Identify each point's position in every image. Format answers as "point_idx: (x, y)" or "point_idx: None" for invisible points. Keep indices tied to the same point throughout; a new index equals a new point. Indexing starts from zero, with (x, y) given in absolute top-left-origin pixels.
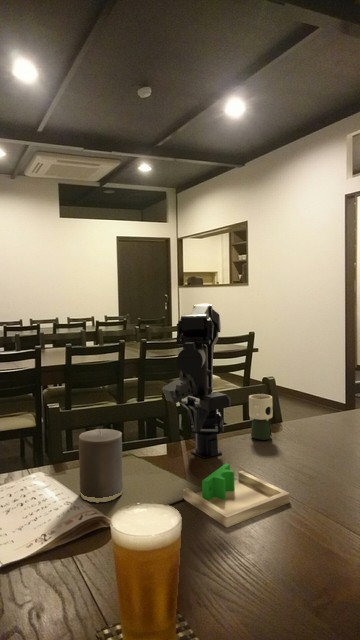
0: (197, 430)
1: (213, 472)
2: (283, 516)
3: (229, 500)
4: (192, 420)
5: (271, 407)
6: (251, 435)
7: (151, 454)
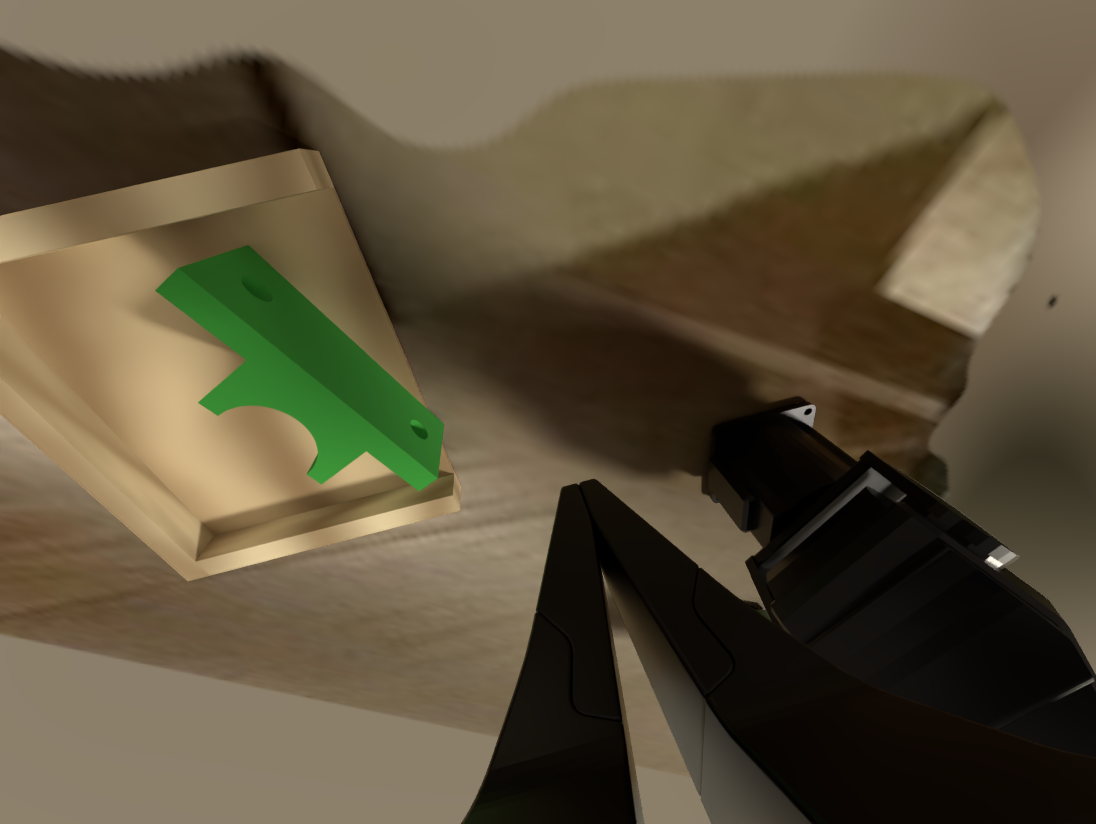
0: (561, 500)
1: (324, 386)
2: (76, 500)
3: None
4: (640, 552)
5: None
6: (760, 613)
7: (946, 211)
